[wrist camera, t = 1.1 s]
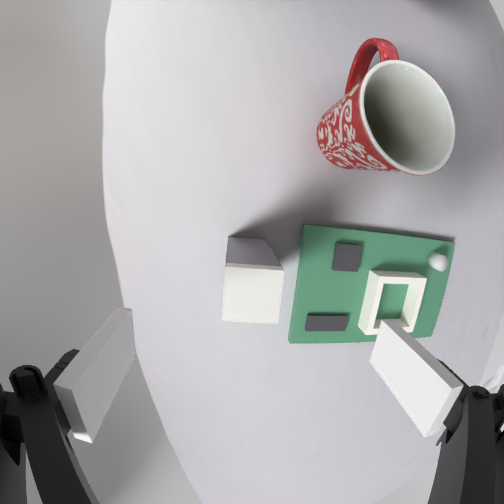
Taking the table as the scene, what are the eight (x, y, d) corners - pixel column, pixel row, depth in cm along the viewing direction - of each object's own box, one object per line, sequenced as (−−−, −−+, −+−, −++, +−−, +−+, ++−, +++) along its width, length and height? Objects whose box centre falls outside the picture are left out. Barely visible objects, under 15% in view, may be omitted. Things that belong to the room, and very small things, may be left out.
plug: (228, 236, 31) (224, 266, 19) (265, 239, 31) (284, 270, 19) (225, 272, 31) (221, 320, 20) (262, 274, 32) (277, 323, 20)
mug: (382, 179, 30) (460, 180, 17) (310, 177, 30) (364, 171, 17) (374, 80, 27) (439, 39, 14) (304, 71, 27) (344, 10, 14)
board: (303, 224, 31) (312, 228, 27) (449, 241, 33) (466, 246, 29) (288, 338, 34) (293, 354, 30) (427, 332, 36) (440, 343, 32)
